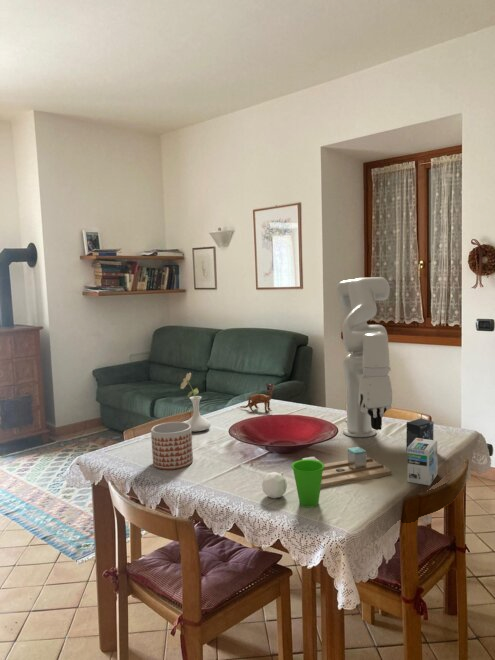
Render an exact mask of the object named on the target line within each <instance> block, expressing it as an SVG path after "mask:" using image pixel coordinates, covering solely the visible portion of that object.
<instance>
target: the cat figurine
mask: <svg viewBox="0 0 495 660" xmlns="http://www.w3.org/2000/svg"><path fill="white" fill-rule="evenodd" d="M265 385H266V391H268V392H269V395H267V394H262V393H261V394H259V393H258V394H253V395H251V396H249V397H248V399H247V400H248V403H247V404H246V405H245V406H244V405H241V406H239V408H243V409H246V408H249V409H250V411H251V412H255V410H254V409H253V408H252V407H254V408H255V409H260V407H259V406H258V405H257V404H264V411H265V413H268V414H269V413H270V412H272V411H273V410H272V409H271V408H270V405H271V403H270V402H271V400H272V396H273V393H272V392H273V391H274V389H275V388H274V384H273V383H270V384H268V383H267V382H266V383H265Z"/></svg>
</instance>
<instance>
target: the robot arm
mask: <svg viewBox="0 0 495 660" xmlns="http://www.w3.org/2000/svg"><path fill="white" fill-rule="evenodd" d="M390 290H391V289H390V283H389V282H388V280H387V279H386V277H383V276H376V277H375V276H374V277H370V276H369V277H358V278H354V279H347V280H346V279H345V280H342V281H339V282H338V284H337V287H336V293H337V299H338V302H339V305H340V307H341V310H342V313H343V317H344V319H343V324H342V327H341V328H342V330H341V331H342V338H343V339H342V341H343V346H344V349H345V351H346V352H347V353H349V354H347V355H346V356H345V357H344V358H343V362H342V365H343V372H344V377H345V388H346V389H345V392H346V393H345V395H346V419H344V423H346V427H344V428H343V430H342V432H343V434H344V435H345V436H348V437H353V438H369V437H373V436H375V435H376V434H377V431H378V430H379V431H380V430H382V425H383V422H382V421H383V420H382V419H383V417H384V416H385V415H384V414H385V413H386V411H389V410H391V409H392V405H393V389H392V383H391V378H390V375H389V373H390V371H391V364H390V361H391V360H390V349H389V337H388V332H387V331H388V330H387V329H386V328H385V326H383V325H382V324H368V321H370V320H372V319H373V318H374V317H375V316H376V314H377V312H378V307H377V304H376V303H377V302H378V301H386V300H388V298H389V297H390V292H391V291H390ZM376 301H377V302H376Z"/></svg>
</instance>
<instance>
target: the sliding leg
mask: <svg viewBox="0 0 495 660" xmlns="http://www.w3.org/2000/svg"><path fill="white" fill-rule="evenodd" d="M366 457H367V450H365V449H363V448H362V447H360V446H355V447H354V446H353V447H349V448H348V447H347V460H348V466H350V467H351V468H353V469H358V468H363V467H366Z"/></svg>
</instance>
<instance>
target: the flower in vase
mask: <svg viewBox="0 0 495 660" xmlns="http://www.w3.org/2000/svg"><path fill="white" fill-rule="evenodd" d="M191 378H192V373H191V372H189V373H188V372H187V373H186V375H185V378H183V379H182V382H181V384H180V389H182V390H184V388H186V386H187V385H189V387H190V388H191V391H189V392H188V393H187V396H186V397H187V398H189V400H190V401H191V403H192V408H193V414H192V416H191V417H190V418H189V419H188V420H187V421H185V423H188V424H190V425H191V432H203V431H206V430H209V429H210V427H211V426H212V424H211V422H210V421H209V420H208V419H206V418H205V417H203V416H202V415H201V413H200V401H201V399H202V397H203V396H200V395H198V394H199V389H198V387H196V388H194V389H193V387H192V385H191V383H190V380H191ZM192 395H193V396H192Z"/></svg>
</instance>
